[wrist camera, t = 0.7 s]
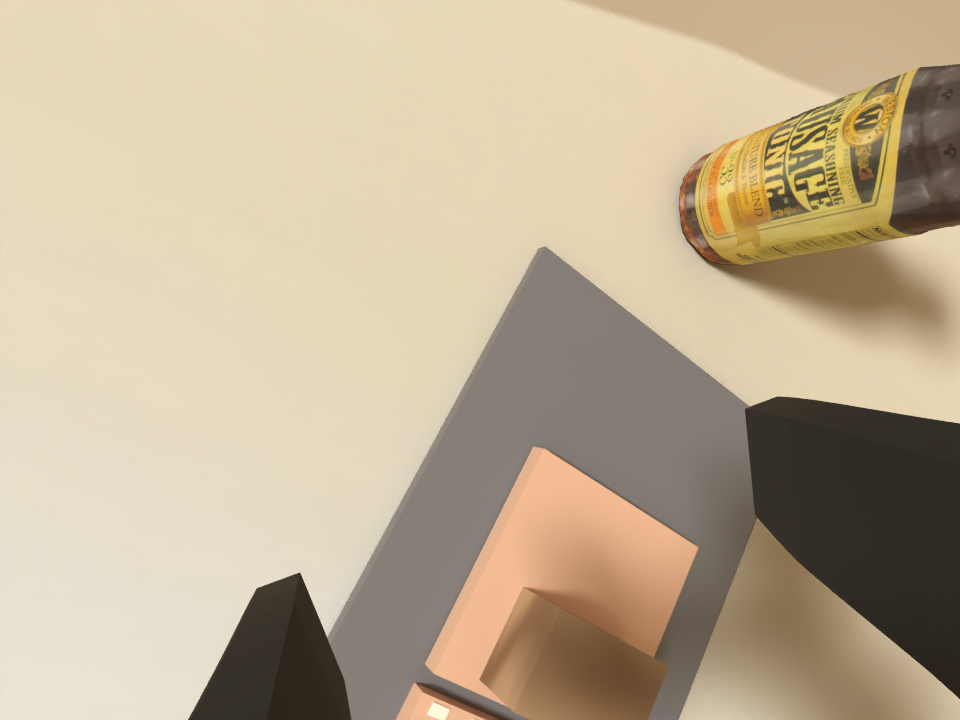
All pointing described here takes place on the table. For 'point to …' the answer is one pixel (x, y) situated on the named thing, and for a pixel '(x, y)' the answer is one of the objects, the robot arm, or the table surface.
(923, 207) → the sauce bottle
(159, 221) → the table surface
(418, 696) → the ticket
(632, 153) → the table surface
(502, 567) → the peach square slab
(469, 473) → the mat
